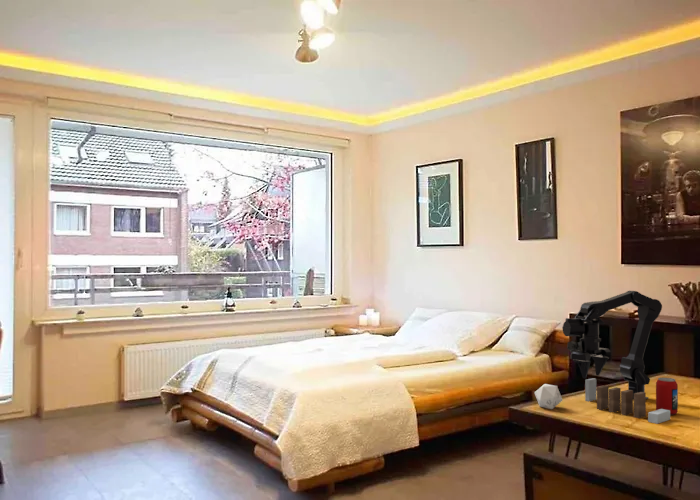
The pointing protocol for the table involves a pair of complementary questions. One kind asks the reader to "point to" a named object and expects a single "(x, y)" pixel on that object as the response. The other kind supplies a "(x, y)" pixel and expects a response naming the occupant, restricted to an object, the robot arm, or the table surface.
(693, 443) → the table surface
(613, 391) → the tile
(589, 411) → the table surface
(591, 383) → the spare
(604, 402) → the tile
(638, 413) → the tile
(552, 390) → the die
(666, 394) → the beverage can
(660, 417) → the block
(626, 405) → the tile
